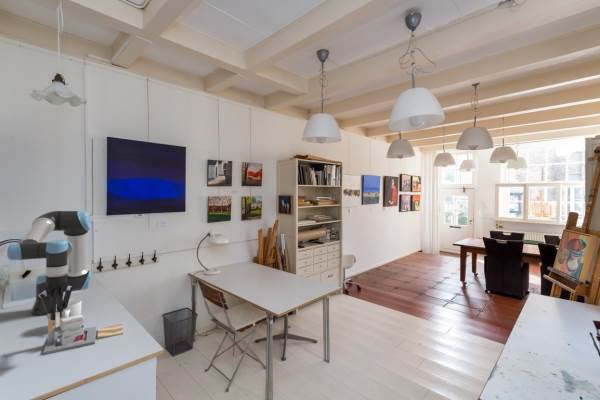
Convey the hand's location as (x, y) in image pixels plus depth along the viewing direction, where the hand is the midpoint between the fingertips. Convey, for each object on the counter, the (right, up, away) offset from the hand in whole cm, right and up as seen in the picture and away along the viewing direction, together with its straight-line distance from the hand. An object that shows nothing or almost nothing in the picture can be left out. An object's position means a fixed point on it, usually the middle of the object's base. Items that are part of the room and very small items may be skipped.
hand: (56, 326), depth 129 cm
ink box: (-3, -13, +13) cm, 19 cm away
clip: (-4, +1, +2) cm, 5 cm away
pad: (+9, -14, +23) cm, 28 cm away
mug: (-17, -12, +27) cm, 34 cm away
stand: (-3, -13, +13) cm, 19 cm away
